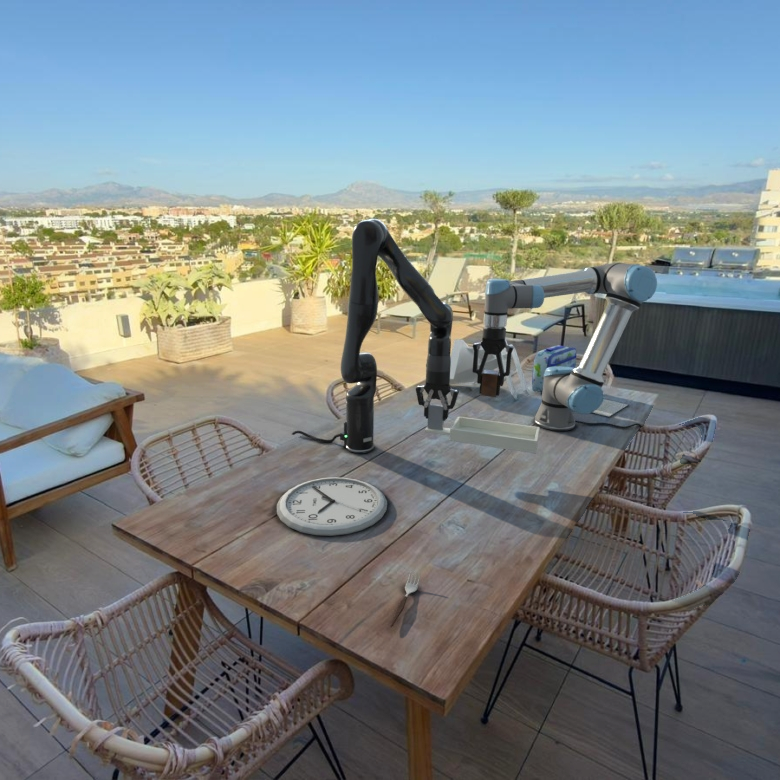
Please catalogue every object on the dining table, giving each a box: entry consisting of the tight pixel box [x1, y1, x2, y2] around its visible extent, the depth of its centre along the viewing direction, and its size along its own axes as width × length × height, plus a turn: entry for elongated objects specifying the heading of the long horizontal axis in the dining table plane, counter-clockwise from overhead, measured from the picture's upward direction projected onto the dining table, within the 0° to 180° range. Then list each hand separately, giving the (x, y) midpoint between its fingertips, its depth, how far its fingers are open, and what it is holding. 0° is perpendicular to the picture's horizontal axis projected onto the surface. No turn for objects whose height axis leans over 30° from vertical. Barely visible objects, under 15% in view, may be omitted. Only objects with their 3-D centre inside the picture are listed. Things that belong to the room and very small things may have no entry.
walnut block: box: [480, 369, 500, 398], centre depth 179 cm, size 5×5×8 cm
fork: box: [390, 569, 422, 628], centre depth 106 cm, size 3×16×2 cm, turn 160°
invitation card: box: [591, 398, 629, 418], centre depth 226 cm, size 21×1×15 cm
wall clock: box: [276, 476, 388, 537], centre depth 142 cm, size 30×2×30 cm
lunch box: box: [531, 345, 577, 393], centre depth 245 cm, size 26×11×21 cm, turn 134°
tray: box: [424, 403, 541, 454], centre depth 164 cm, size 35×12×9 cm, turn 71°
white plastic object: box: [450, 336, 531, 400], centre depth 245 cm, size 37×45×31 cm
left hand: (435, 418), depth 168 cm, fingers closed on tray, 5 cm apart
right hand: (489, 393), depth 180 cm, fingers closed on walnut block, 5 cm apart
